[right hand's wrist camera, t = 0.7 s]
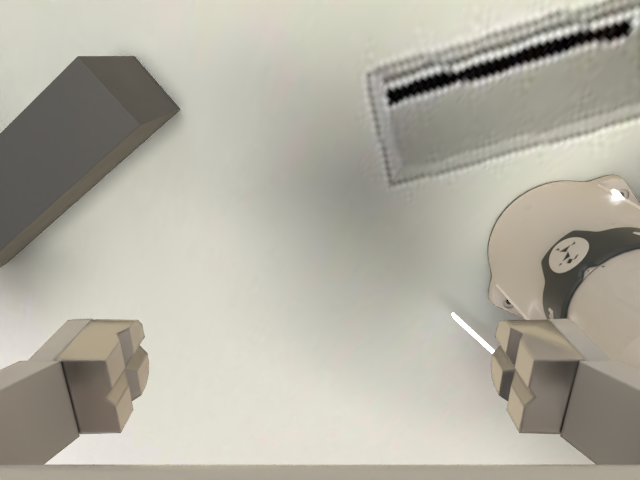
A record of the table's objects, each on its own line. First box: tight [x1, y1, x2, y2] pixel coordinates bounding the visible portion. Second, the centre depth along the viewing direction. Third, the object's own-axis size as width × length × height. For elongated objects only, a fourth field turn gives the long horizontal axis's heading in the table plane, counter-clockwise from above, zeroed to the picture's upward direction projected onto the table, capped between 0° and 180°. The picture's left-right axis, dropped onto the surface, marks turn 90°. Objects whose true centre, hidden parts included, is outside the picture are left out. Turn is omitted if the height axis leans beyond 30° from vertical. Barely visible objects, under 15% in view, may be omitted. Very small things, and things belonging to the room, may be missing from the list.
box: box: [0, 56, 180, 267], centre depth 42 cm, size 28×6×11 cm, turn 128°
